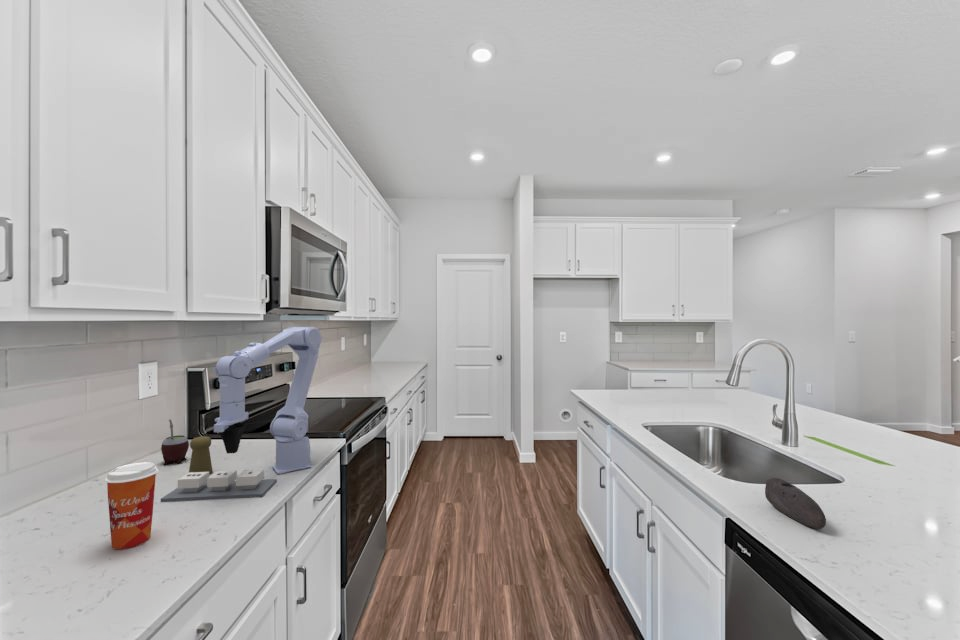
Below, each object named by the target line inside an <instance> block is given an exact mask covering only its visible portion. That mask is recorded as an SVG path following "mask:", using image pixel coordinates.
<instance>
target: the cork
mask: <svg viewBox="0 0 960 640" xmlns="http://www.w3.org/2000/svg"><path fill="white" fill-rule="evenodd" d="M211 445H212V438H211V437H210V436H206V435H204V436H201V435H200V436H196V437H194V438H193V439H191V440H190V443H189V447H190V449H191V450H192V451H191V454H190V455H191V457H190V462H189V468H188V469H189V470H188V473H189V472H209V476H211V475H213V474H214V473H213V472H214V471H213V465H212V457H211V452H210V446H211Z"/></svg>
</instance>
